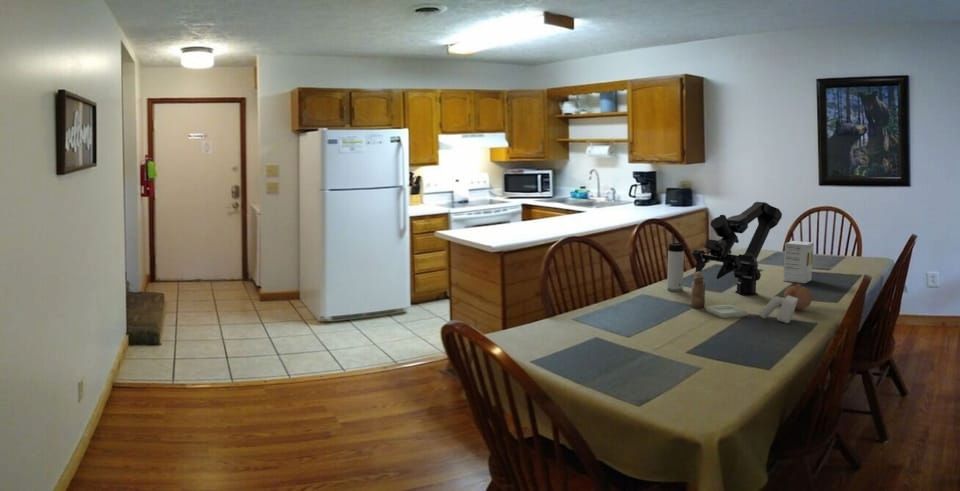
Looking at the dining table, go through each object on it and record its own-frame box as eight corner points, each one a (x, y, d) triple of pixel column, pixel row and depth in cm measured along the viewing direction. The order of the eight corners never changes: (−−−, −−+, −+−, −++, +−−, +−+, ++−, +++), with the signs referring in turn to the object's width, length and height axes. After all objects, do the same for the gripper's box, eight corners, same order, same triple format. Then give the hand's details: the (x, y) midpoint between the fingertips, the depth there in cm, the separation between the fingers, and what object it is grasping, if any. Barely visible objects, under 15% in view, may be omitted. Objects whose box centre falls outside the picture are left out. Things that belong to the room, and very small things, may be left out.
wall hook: (760, 313, 246) (768, 287, 243) (789, 323, 241) (798, 297, 238) (754, 318, 240) (763, 292, 237) (785, 329, 235) (794, 302, 232)
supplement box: (804, 283, 294) (807, 245, 291) (782, 281, 300) (784, 243, 297) (811, 280, 301) (814, 242, 298) (789, 277, 307) (792, 240, 304)
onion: (787, 305, 258) (788, 279, 256) (814, 309, 252) (815, 282, 251) (779, 311, 251) (781, 284, 249) (807, 315, 245) (808, 287, 243)
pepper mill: (700, 305, 261) (701, 270, 259) (706, 308, 256) (708, 272, 254) (688, 306, 260) (689, 270, 258) (695, 309, 255) (696, 273, 253)
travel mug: (684, 291, 283) (685, 244, 279) (667, 291, 284) (669, 243, 281) (682, 288, 289) (684, 241, 285) (666, 288, 290) (668, 241, 287)
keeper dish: (730, 309, 255) (730, 304, 254) (746, 316, 245) (746, 311, 245) (706, 311, 252) (706, 306, 252) (721, 318, 243) (721, 313, 242)
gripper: (695, 228, 267) (677, 260, 262) (739, 233, 252) (720, 267, 248) (706, 246, 273) (688, 277, 268) (749, 252, 258) (731, 285, 254)
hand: (706, 276), depth 259 cm, fingers open, 9 cm apart
